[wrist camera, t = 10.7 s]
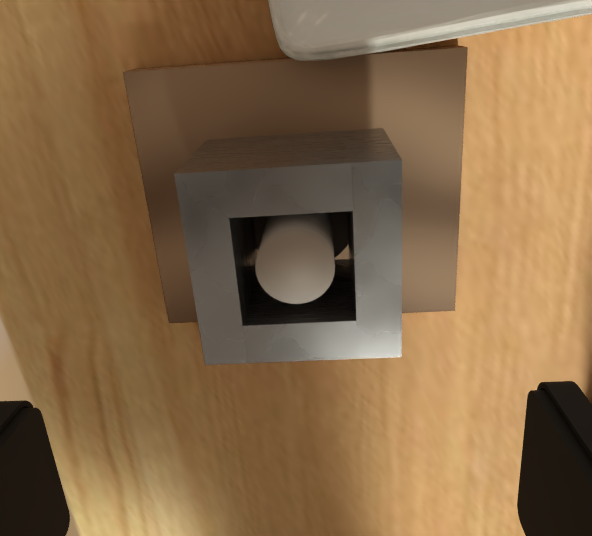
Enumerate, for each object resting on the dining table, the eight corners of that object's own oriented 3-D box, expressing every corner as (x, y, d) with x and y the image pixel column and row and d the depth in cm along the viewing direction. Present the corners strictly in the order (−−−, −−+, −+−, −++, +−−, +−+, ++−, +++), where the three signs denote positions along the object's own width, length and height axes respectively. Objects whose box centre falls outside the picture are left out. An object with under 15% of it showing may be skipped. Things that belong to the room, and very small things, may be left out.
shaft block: (447, 295, 27) (501, 409, 19) (176, 307, 27) (119, 422, 20) (458, 45, 22) (533, 59, 14) (134, 68, 23) (40, 94, 15)
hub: (384, 289, 23) (401, 356, 18) (227, 296, 23) (204, 364, 19) (383, 128, 20) (402, 159, 16) (206, 139, 21) (174, 174, 16)
